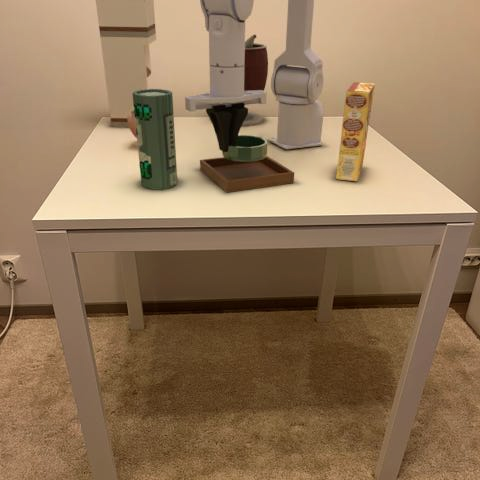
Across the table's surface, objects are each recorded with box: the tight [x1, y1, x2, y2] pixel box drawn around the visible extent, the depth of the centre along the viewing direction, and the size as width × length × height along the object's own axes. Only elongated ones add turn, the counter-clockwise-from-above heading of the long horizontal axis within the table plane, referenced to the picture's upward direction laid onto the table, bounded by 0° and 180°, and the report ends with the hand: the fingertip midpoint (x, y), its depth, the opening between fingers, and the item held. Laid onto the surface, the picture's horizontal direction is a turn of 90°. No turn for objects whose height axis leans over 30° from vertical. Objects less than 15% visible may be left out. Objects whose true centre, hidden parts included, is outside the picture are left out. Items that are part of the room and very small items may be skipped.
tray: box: [199, 155, 295, 193], centre depth 92 cm, size 13×13×2 cm
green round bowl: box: [221, 134, 269, 162], centre depth 89 cm, size 8×8×2 cm
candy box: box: [335, 81, 376, 182], centre depth 90 cm, size 9×4×15 cm, turn 162°
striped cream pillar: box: [95, 0, 157, 128], centre depth 115 cm, size 11×11×35 cm
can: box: [132, 88, 178, 191], centre depth 84 cm, size 6×6×15 cm
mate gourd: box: [241, 34, 269, 127], centre depth 122 cm, size 16×14×20 cm
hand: (226, 150), depth 88 cm, fingers closed on green round bowl, 1 cm apart
